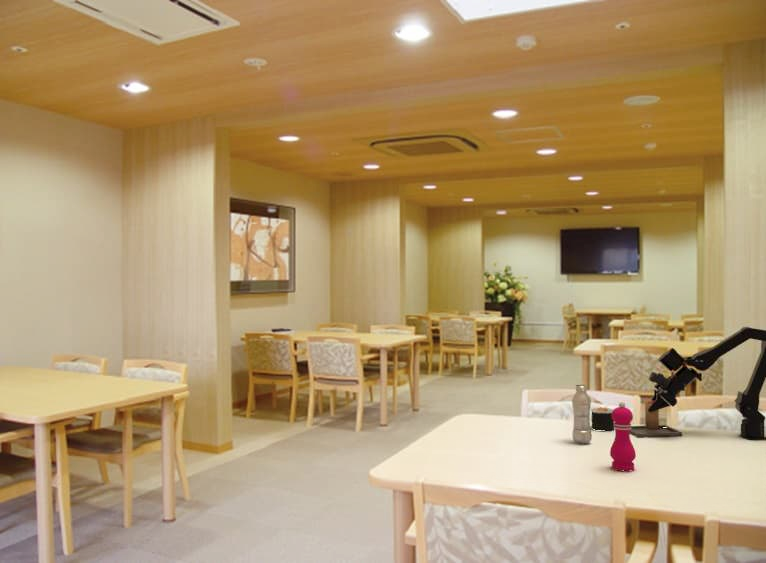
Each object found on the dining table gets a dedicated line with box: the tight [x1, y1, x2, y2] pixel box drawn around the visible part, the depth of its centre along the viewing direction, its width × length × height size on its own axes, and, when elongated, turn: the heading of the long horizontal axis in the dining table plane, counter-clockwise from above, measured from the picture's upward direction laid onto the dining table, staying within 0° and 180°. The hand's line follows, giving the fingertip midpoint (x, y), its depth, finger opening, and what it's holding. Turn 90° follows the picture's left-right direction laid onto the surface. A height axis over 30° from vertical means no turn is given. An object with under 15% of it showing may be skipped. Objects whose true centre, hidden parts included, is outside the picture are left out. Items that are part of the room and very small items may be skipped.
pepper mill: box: [609, 401, 637, 472], centre depth 197 cm, size 7×7×20 cm
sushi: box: [590, 406, 615, 432], centre depth 247 cm, size 8×8×8 cm
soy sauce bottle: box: [644, 399, 660, 430], centre depth 240 cm, size 5×5×10 cm
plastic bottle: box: [571, 384, 593, 444], centre depth 228 cm, size 6×7×20 cm
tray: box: [629, 424, 683, 439], centre depth 240 cm, size 16×12×1 cm
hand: (647, 409), depth 240 cm, fingers closed on soy sauce bottle, 5 cm apart
